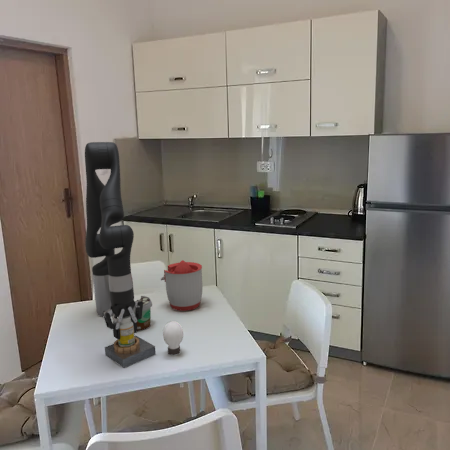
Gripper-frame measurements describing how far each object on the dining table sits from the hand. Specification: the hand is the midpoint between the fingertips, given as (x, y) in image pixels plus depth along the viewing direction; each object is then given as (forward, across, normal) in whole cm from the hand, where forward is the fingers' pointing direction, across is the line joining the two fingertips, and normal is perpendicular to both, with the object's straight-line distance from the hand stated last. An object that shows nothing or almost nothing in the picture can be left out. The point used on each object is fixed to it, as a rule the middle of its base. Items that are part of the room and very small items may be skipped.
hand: (125, 335), depth 154 cm
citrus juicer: (+8, -39, -21) cm, 45 cm away
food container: (+8, -17, -16) cm, 24 cm away
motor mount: (+7, -1, 0) cm, 7 cm away
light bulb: (+8, -12, +10) cm, 17 cm away
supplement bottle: (+3, 0, 0) cm, 3 cm away
